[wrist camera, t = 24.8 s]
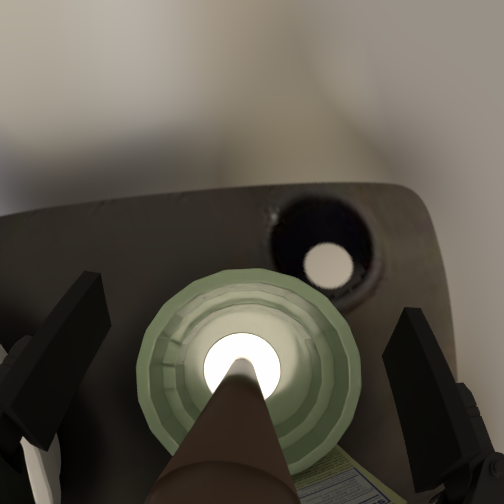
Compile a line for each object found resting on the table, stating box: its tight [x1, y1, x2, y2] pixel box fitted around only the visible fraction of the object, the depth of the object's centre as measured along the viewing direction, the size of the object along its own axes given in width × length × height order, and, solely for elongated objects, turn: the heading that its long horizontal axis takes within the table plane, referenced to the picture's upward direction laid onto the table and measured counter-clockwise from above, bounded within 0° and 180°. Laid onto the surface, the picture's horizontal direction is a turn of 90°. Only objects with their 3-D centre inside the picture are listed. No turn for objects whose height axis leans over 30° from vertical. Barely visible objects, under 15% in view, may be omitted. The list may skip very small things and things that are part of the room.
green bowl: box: [136, 268, 361, 475], centre depth 17 cm, size 11×11×6 cm
